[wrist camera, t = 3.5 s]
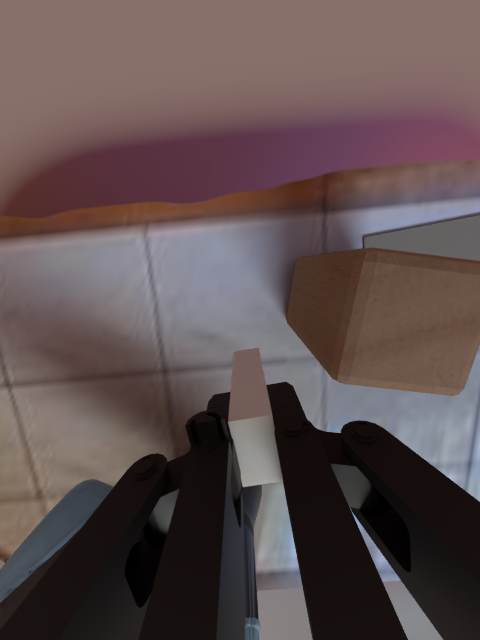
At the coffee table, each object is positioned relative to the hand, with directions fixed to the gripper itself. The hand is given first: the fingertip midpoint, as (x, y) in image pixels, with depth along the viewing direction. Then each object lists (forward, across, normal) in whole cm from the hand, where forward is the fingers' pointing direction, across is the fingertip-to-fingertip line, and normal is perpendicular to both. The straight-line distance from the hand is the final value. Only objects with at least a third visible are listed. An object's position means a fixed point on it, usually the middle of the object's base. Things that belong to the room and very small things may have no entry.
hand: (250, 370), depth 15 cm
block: (+23, +12, 0) cm, 25 cm away
